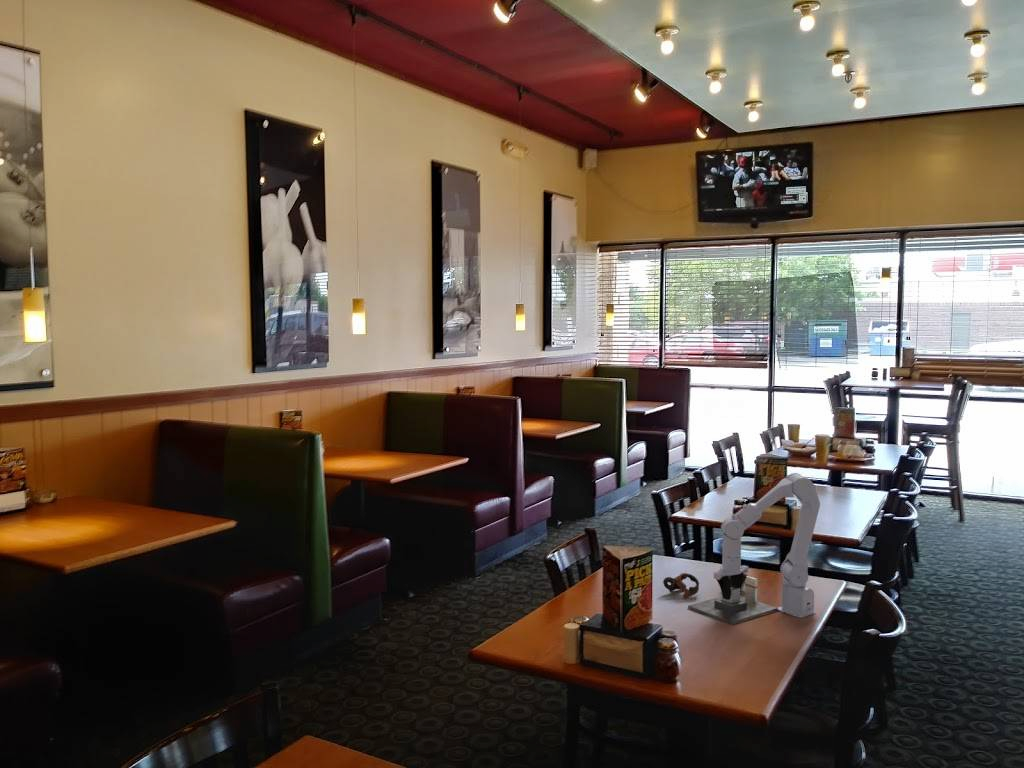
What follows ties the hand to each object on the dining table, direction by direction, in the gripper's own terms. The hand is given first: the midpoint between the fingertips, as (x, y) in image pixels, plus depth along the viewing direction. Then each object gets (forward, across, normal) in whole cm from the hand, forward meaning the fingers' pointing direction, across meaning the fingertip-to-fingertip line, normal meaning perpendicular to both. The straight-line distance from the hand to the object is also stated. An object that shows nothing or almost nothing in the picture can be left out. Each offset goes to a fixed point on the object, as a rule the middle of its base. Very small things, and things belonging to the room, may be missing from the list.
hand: (730, 597), depth 264 cm
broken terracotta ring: (+4, +1, -20) cm, 21 cm away
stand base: (+4, 0, 0) cm, 4 cm away
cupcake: (+4, -18, -13) cm, 23 cm away
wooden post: (+3, 0, 0) cm, 3 cm away
